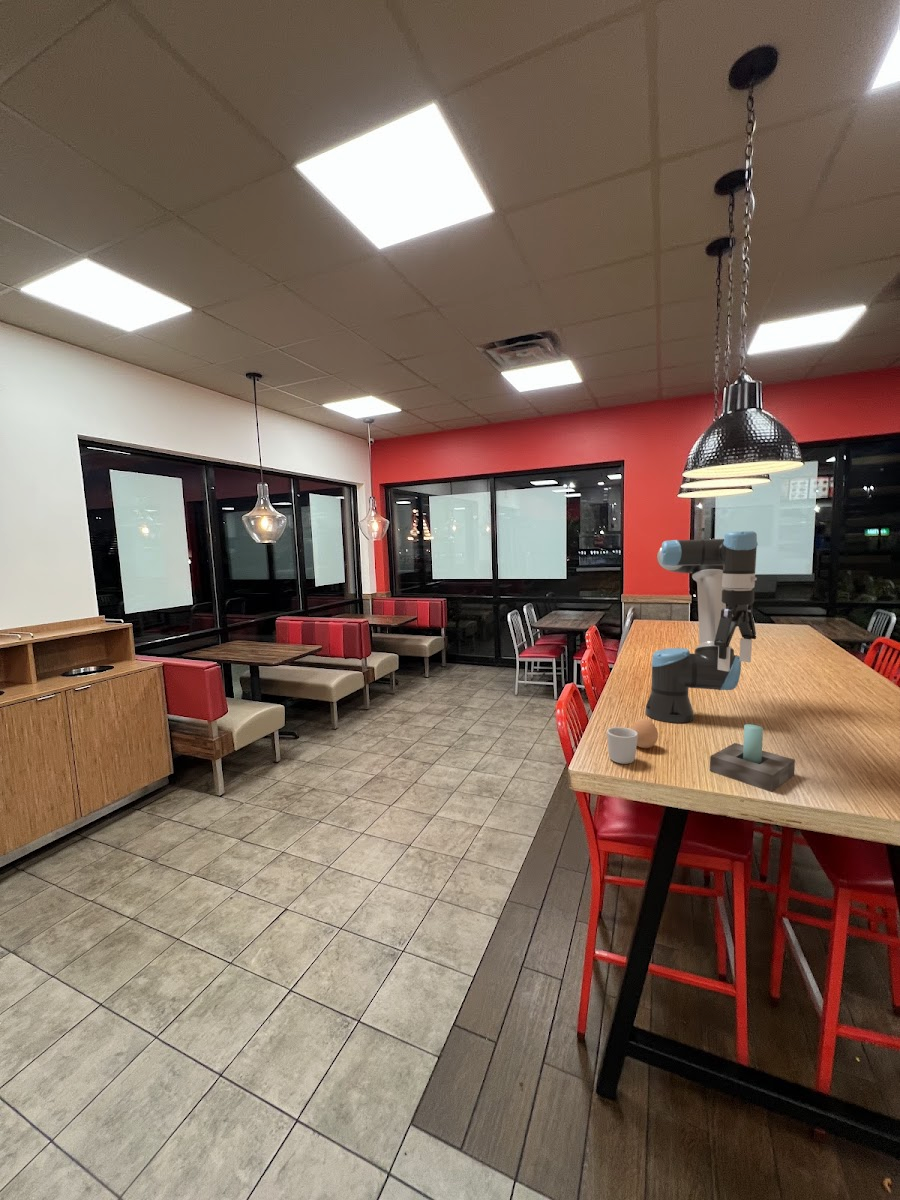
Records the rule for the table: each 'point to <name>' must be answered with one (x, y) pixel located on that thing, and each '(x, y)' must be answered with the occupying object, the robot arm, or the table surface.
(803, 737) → the table surface
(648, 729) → the egg
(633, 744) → the cup
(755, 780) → the socket
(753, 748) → the peg
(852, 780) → the table surface
